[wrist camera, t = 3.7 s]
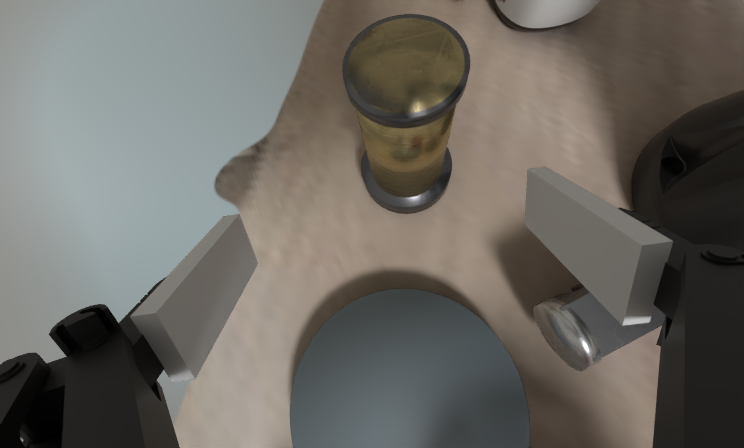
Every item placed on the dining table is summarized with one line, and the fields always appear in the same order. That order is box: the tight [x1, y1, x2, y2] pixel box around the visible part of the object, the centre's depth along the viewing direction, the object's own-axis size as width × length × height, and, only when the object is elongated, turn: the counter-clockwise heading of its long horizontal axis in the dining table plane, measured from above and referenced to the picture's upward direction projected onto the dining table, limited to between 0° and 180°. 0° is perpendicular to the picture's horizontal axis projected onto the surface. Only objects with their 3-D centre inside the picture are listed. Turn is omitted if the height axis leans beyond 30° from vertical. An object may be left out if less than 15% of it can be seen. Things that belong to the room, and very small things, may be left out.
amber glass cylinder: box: [343, 14, 470, 214], centre depth 21 cm, size 7×7×12 cm
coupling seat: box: [290, 289, 530, 448], centre depth 21 cm, size 15×15×2 cm
